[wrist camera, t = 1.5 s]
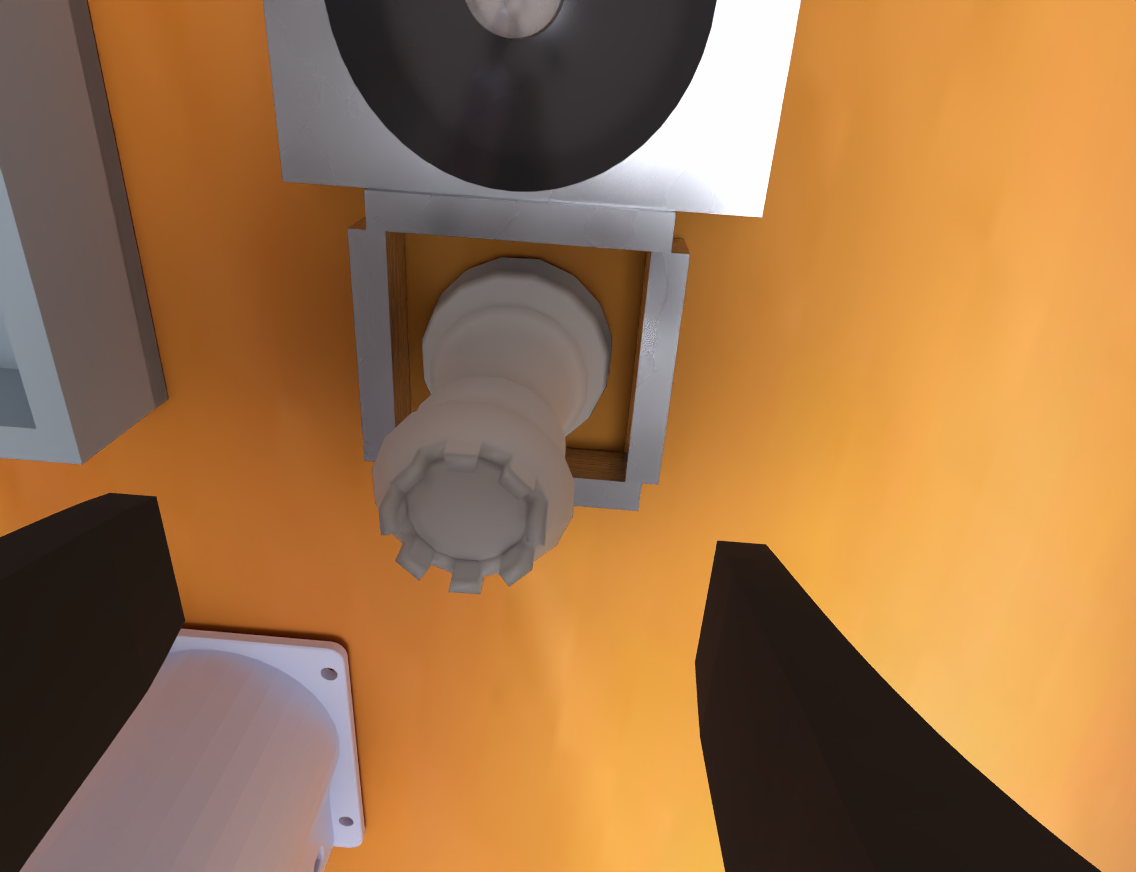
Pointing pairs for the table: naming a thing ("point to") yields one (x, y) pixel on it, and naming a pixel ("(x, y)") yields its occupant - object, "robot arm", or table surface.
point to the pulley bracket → (531, 155)
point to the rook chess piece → (494, 423)
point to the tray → (65, 248)
